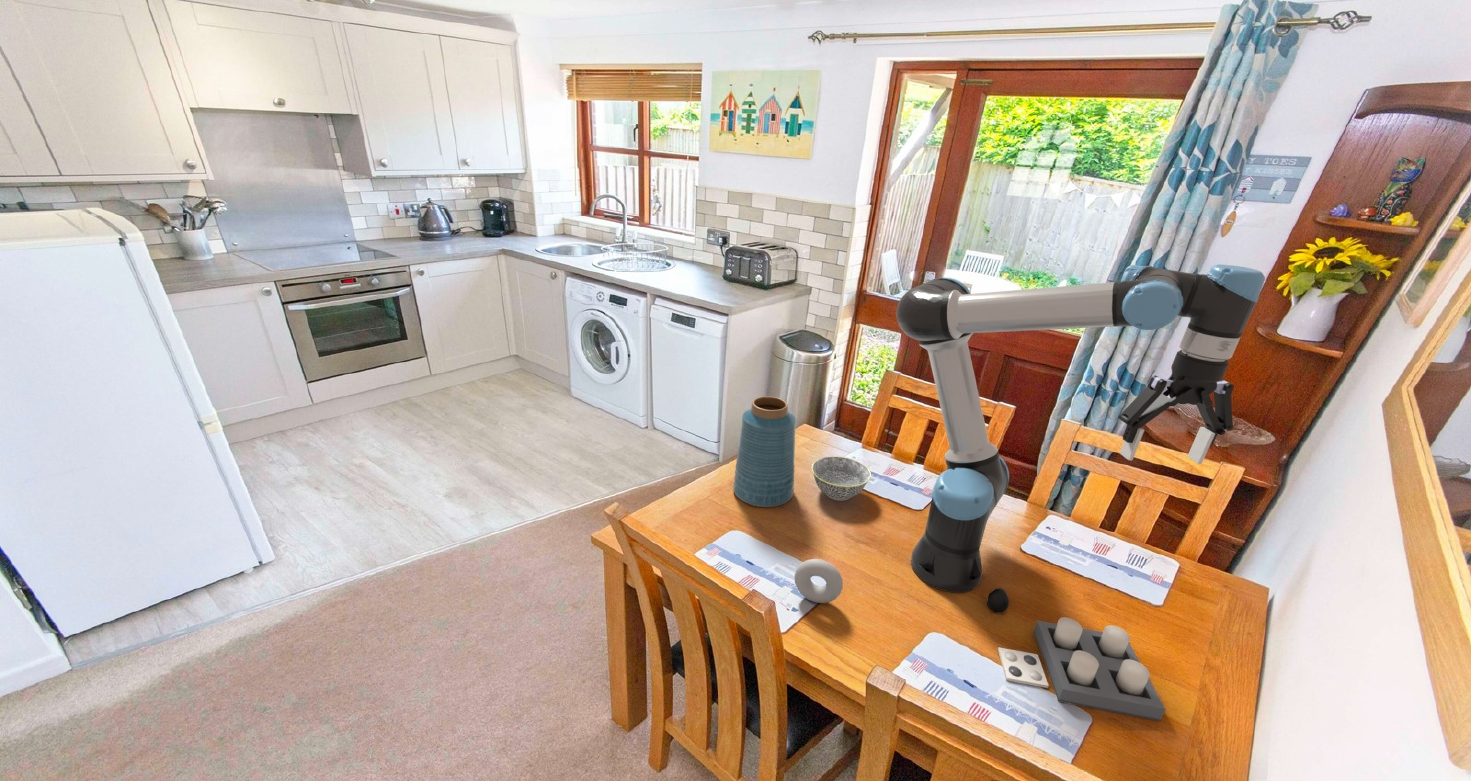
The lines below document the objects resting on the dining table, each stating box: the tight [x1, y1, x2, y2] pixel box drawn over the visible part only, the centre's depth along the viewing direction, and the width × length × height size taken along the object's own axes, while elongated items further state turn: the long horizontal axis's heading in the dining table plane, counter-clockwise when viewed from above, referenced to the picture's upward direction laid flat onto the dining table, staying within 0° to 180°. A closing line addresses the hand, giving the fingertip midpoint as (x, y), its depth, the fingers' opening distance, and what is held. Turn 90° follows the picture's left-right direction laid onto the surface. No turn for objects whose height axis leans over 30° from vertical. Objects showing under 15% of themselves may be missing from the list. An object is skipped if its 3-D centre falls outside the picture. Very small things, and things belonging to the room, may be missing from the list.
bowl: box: [810, 455, 872, 502], centre depth 155 cm, size 16×16×8 cm
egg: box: [986, 587, 1010, 614], centre depth 118 cm, size 4×4×5 cm
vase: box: [732, 395, 797, 508], centre depth 150 cm, size 16×16×27 cm
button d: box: [1098, 624, 1131, 658], centre depth 106 cm, size 4×4×4 cm
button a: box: [1067, 650, 1099, 686], centre depth 101 cm, size 4×4×4 cm
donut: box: [794, 558, 844, 604], centre depth 117 cm, size 10×3×10 cm, turn 71°
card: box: [997, 647, 1049, 689], centre depth 105 cm, size 7×7×1 cm
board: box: [1032, 620, 1166, 722], centre depth 105 cm, size 16×16×3 cm
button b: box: [1115, 659, 1151, 696], centre depth 99 cm, size 4×4×4 cm
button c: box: [1053, 616, 1084, 650], centre depth 108 cm, size 4×4×4 cm
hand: (1160, 458), depth 110 cm, fingers open, 13 cm apart
